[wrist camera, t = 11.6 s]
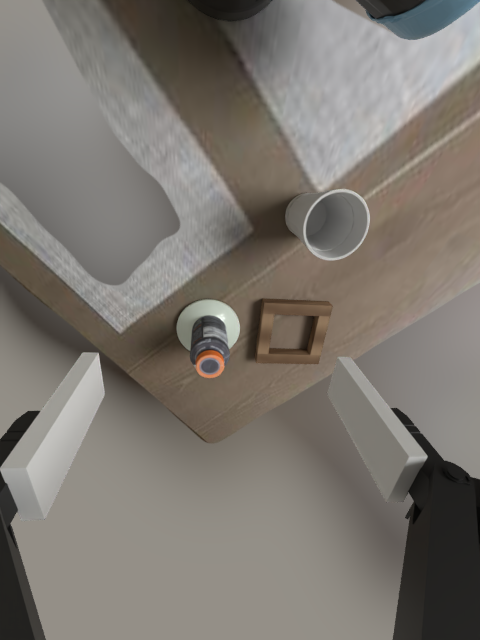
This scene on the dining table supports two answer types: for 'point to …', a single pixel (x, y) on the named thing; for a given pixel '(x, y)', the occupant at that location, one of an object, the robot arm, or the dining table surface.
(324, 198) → the cup
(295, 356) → the open wooden frame
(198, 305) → the pale green rounded part
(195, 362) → the pill bottle
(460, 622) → the robot arm
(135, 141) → the dining table surface
